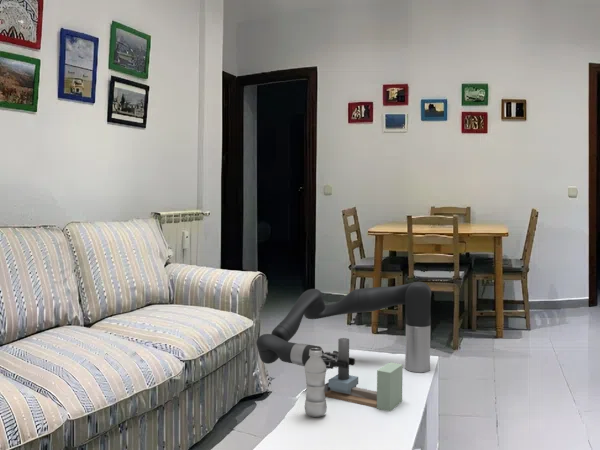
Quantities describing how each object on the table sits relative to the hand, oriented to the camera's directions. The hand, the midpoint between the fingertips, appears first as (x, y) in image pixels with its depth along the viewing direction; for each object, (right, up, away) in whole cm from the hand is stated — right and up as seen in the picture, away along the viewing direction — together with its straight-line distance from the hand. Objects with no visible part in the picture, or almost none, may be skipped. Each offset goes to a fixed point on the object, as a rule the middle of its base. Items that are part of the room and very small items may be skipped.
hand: (351, 363), depth 183 cm
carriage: (-2, -9, +2) cm, 10 cm away
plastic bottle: (-12, -12, -15) cm, 23 cm away
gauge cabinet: (+12, -11, -7) cm, 18 cm away
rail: (+1, -11, 0) cm, 11 cm away
